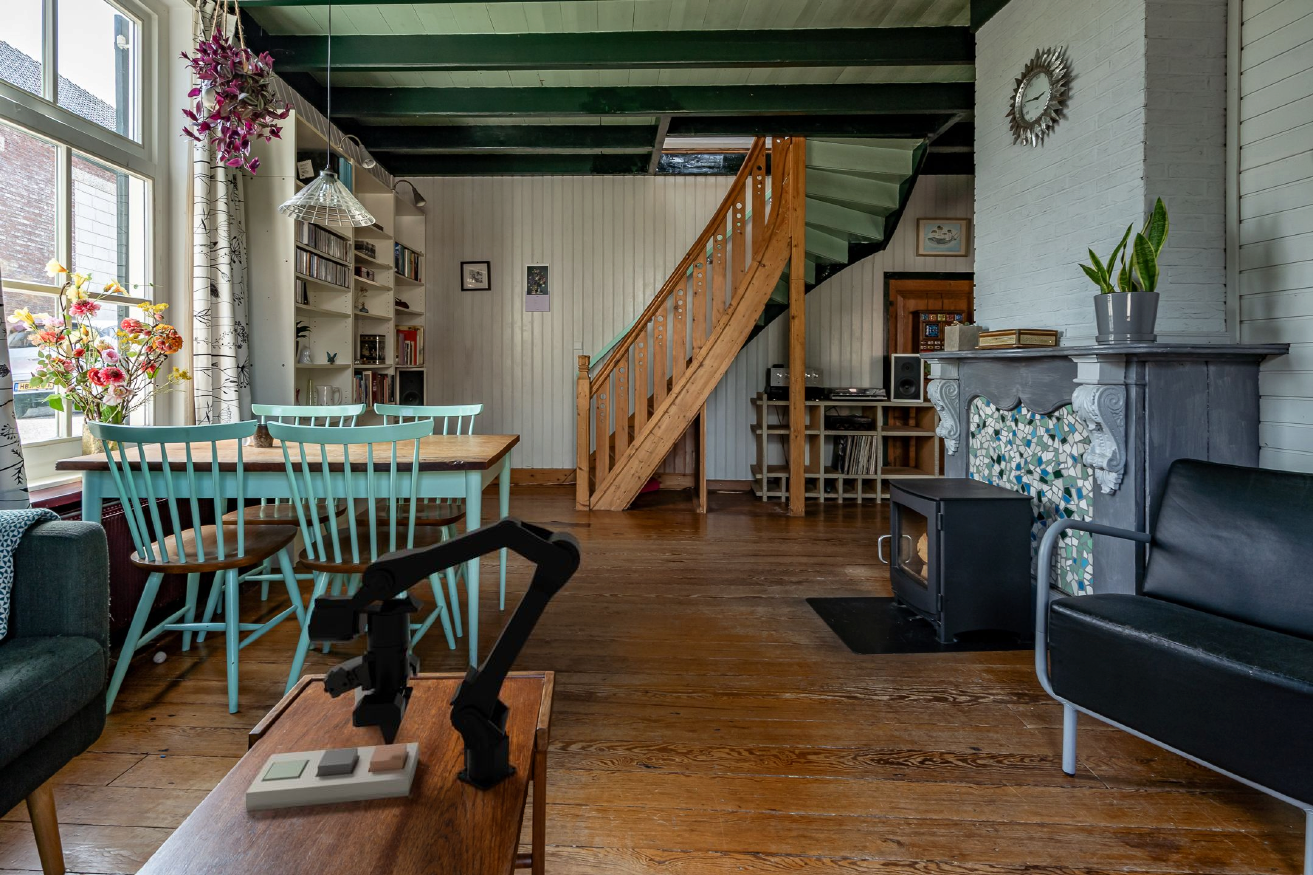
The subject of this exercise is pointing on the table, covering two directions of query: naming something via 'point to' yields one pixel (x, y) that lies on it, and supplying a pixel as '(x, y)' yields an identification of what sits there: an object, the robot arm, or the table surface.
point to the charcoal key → (338, 762)
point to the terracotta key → (388, 757)
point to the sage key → (286, 770)
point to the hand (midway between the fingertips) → (389, 743)
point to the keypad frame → (330, 782)
